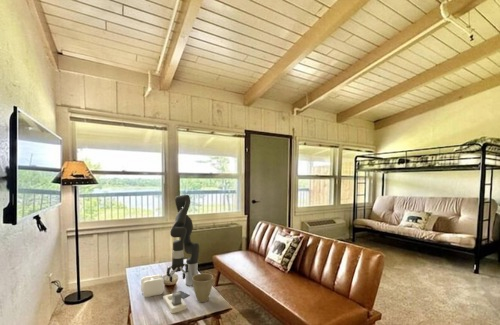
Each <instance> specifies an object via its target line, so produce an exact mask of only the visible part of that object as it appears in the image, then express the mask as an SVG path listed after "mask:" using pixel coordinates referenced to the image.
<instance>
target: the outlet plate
mask: <svg viewBox="0 0 500 325" xmlns="http://www.w3.org/2000/svg"><path fill="white" fill-rule="evenodd" d="M172 295H173V293H171V294H165V295H163V296H162V300H163V303H164V304H165V306H166V308H167V309H168V311H169V313H170V314H174V313H175V314H176V313H178V312H182V311H186V310H187V306H188V305H187V303H186V302H185V301H184V299H183V298H181V304H180V305H176V306H173V304H172Z"/></svg>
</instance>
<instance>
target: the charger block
mask: <svg viewBox="0 0 500 325" xmlns="http://www.w3.org/2000/svg"><path fill="white" fill-rule="evenodd" d="M172 294H173V295H172V304H173V306H176V305H180V304H181V293H180V292H178V291H176V292H172Z"/></svg>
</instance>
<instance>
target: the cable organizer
mask: <svg viewBox="0 0 500 325" xmlns="http://www.w3.org/2000/svg"><path fill="white" fill-rule="evenodd" d="M140 283H141V284H140V290H141V292H142V296H143V297H144V298H149V297H152V296H159V295H160V296H161V295H162V294H163V293H164V290H165V288H164V287H165V280H164V278H163V276H162V274H153V275H148V276H147V275H146V276H143V277H141V280H140Z"/></svg>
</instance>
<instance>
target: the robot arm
mask: <svg viewBox="0 0 500 325" xmlns="http://www.w3.org/2000/svg"><path fill="white" fill-rule="evenodd" d="M174 201H175V207H176V210H177V213H176V216H175V219H174V220H175V221H174V224H173V225H172V227H171V229H170V237H171V238H179V239H175V240H174V241H173V242H172V253H171V254H172V258H171V265H170V266H169V265H167V267H166V276H167V277H168V278H169V282H170V283H173V276H174V275H175V273H179V272H182V279H183V280H185V286H188V287H193V280H192V278H193V276H195V275H197V274H199V271H198V268H199V267H198V264H199V263H198V262H199V256H200V245H199V243H198V242H192V240H191V235H192V232H193V230H194V226H193V221H192V218H191V217H190V216H189V215H188V212H189V208H190V206H191V196H190V195H189V194H182V195H177V196H175V198H174ZM184 252H185V253H186V254H189V255H190V257H187V259H186V262H184V260H185V258H184V256H185V253H184ZM184 269H185V270H184Z"/></svg>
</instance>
